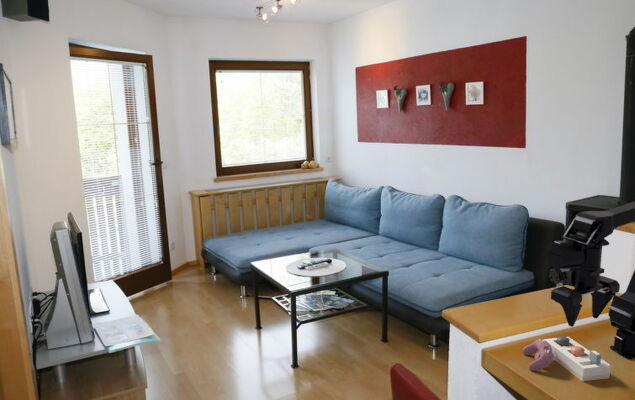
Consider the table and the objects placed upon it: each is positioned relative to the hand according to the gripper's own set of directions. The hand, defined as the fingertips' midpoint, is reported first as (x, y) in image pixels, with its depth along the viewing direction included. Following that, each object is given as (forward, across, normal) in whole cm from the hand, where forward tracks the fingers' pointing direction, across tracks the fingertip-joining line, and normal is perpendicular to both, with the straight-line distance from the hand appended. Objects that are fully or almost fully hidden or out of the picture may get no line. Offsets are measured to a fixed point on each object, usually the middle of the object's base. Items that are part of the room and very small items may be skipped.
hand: (583, 321), depth 128 cm
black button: (+9, 0, -5) cm, 10 cm away
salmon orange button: (+9, +2, 0) cm, 9 cm away
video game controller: (+11, +10, -5) cm, 16 cm away
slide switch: (+10, +2, +6) cm, 12 cm away
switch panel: (+11, +2, 0) cm, 11 cm away
